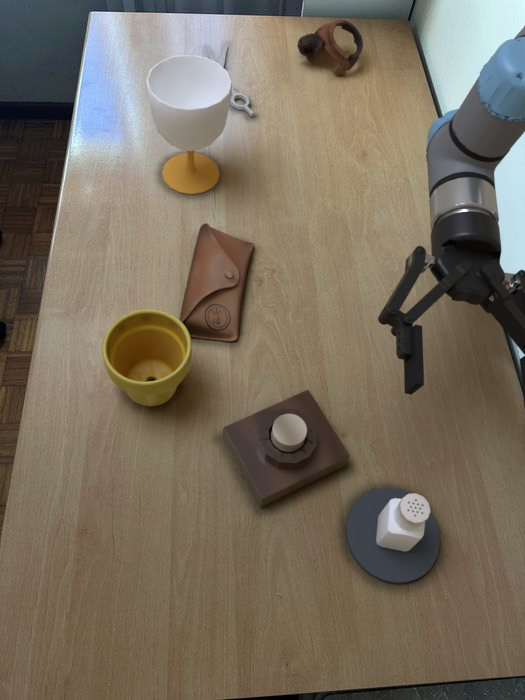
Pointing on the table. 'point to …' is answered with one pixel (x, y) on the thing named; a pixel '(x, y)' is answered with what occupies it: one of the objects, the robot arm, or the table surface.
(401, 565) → the mat
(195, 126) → the cup
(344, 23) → the brown curved piece
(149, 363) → the flower pot
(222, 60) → the scissors
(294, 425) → the cream short cylinder
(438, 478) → the table surface
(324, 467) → the button base
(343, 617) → the table surface
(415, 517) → the pepper shaker
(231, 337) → the sunglasses case
